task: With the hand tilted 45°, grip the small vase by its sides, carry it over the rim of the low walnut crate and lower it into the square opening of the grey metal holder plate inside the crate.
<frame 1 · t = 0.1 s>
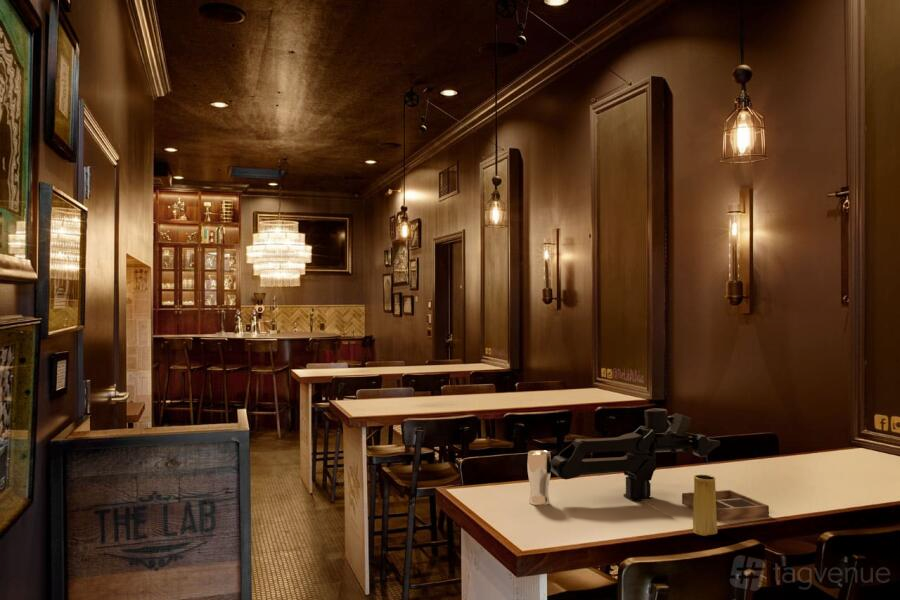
hand: (711, 440, 212), 17 cm above the table, tool horizontal, fingers open, 9 cm apart
vase: (705, 533, 173), on the table
beer glass: (539, 503, 201), on the table
holder plate: (738, 512, 189), resting on crate
crate: (724, 511, 192), on the table
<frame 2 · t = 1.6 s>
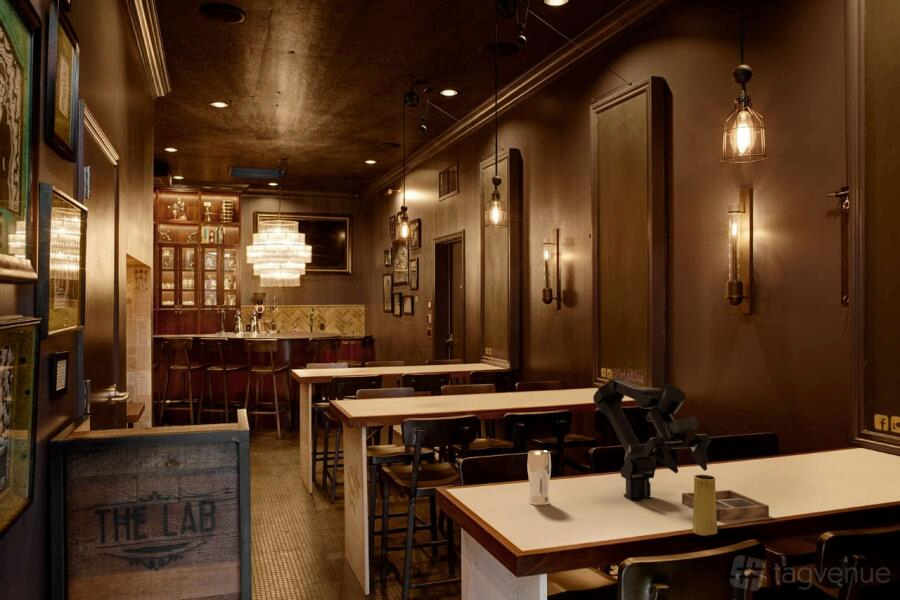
hand: (691, 471, 181), 14 cm above the table, tool tilted 45°, fingers open, 9 cm apart
nothing on the table moved.
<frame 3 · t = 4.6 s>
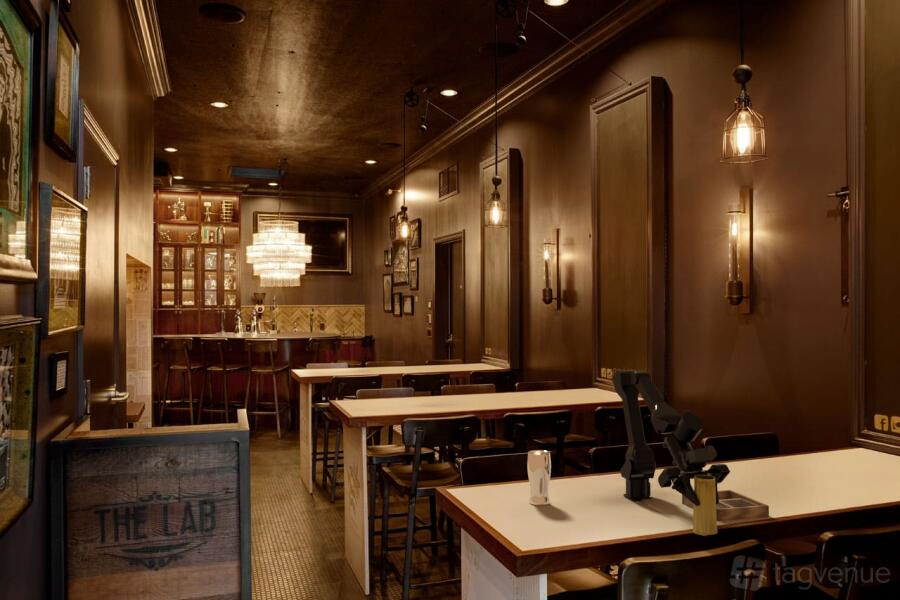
hand: (708, 504, 172), 8 cm above the table, tool tilted 45°, fingers closed on vase, 5 cm apart
vase: (705, 533, 173), on the table, touching gripper
everything else where it was.
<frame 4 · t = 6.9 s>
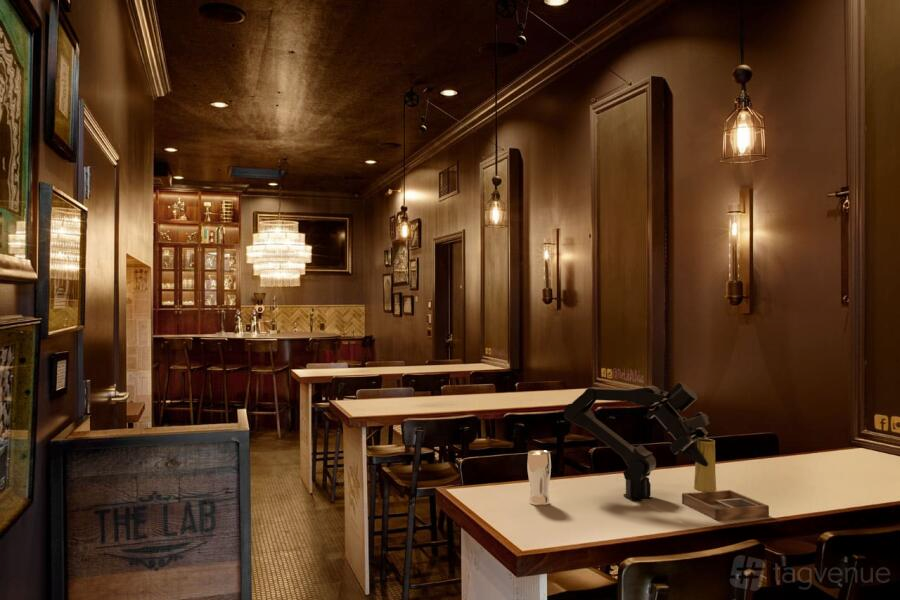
hand: (710, 463, 193), 13 cm above the table, tool tilted 45°, fingers closed on vase, 5 cm apart
vase: (705, 490, 194), point 5 cm above the table, touching gripper
everything else where it was.
when the fingers open (9 cm above the table, at t = 9.2 s): vase drops 1 cm, resting on crate.
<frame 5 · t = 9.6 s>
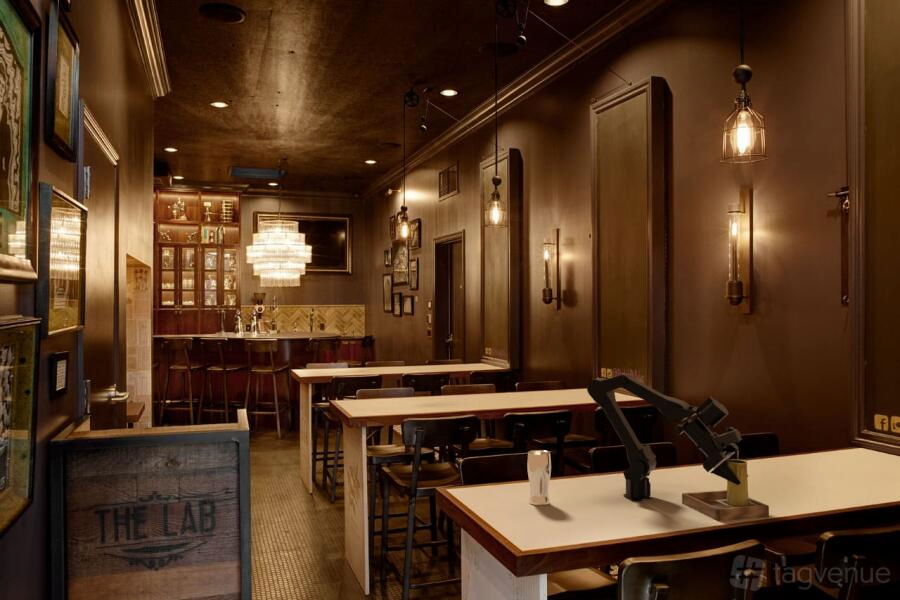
hand: (743, 480, 189), 10 cm above the table, tool tilted 45°, fingers open, 9 cm apart
vase: (737, 512, 189), resting on crate
everything else where it was.
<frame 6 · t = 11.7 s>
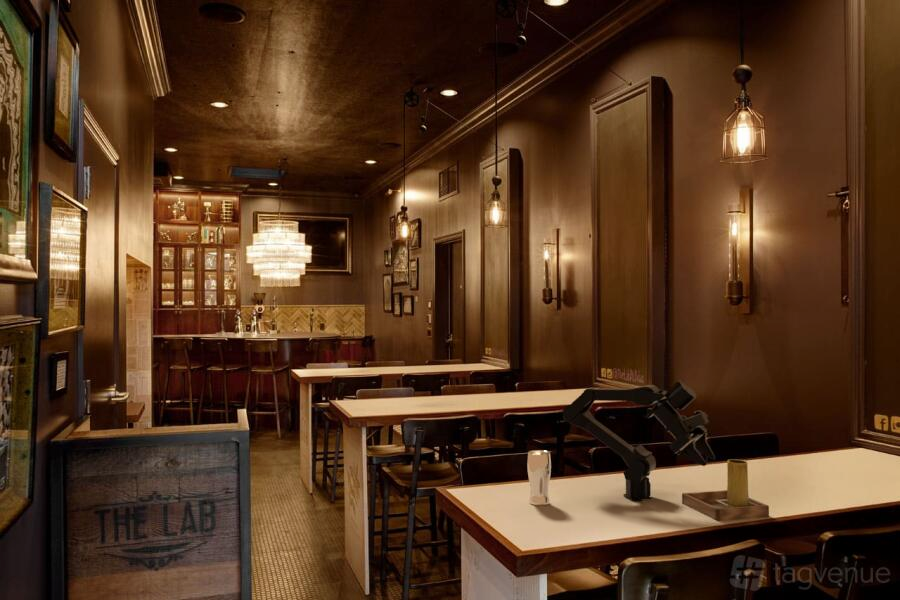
hand: (709, 461, 194), 14 cm above the table, tool tilted 45°, fingers open, 9 cm apart
nothing on the table moved.
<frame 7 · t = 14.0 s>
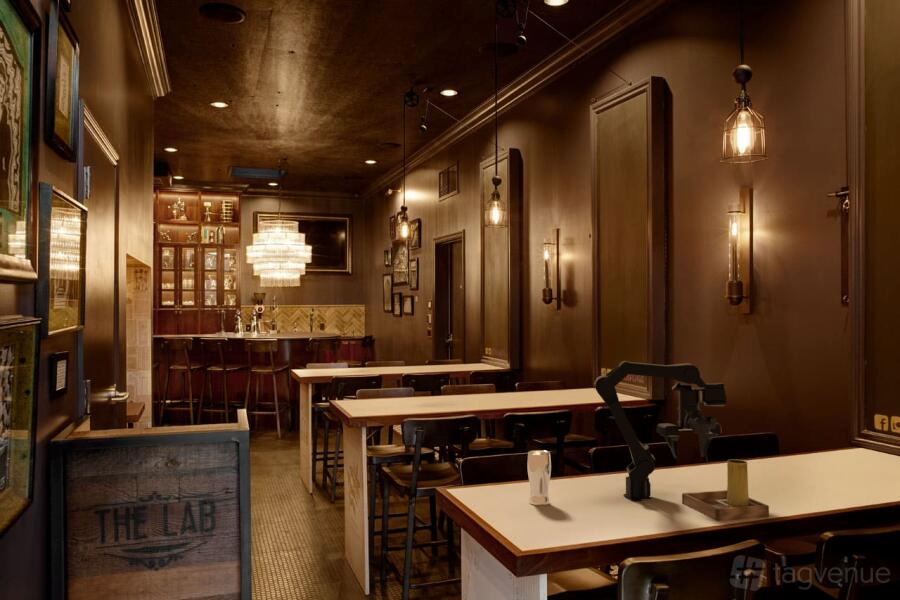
hand: (689, 457, 203), 13 cm above the table, tool pointing down, fingers open, 9 cm apart
nothing on the table moved.
at the end: vase 0.1 cm off-centre on the holder plate, point 0.0 cm above the holder plate's base; vase tilted 0°; the gripper is holding nothing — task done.
